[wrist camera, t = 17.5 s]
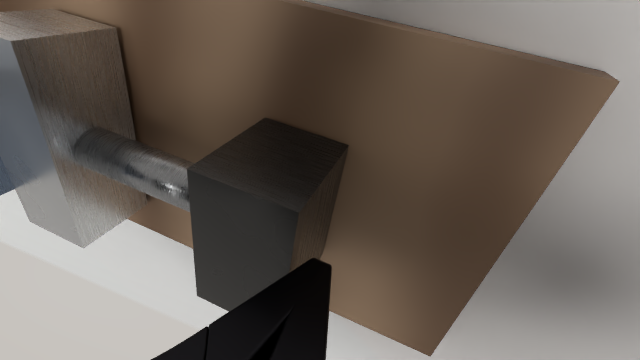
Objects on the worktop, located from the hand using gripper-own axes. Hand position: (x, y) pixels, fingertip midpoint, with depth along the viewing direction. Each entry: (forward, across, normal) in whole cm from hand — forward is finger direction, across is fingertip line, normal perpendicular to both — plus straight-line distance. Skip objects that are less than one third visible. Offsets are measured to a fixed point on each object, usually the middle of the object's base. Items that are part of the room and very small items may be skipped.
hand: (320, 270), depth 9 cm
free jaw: (+3, +7, 0) cm, 7 cm away
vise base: (+4, +9, 0) cm, 10 cm away
